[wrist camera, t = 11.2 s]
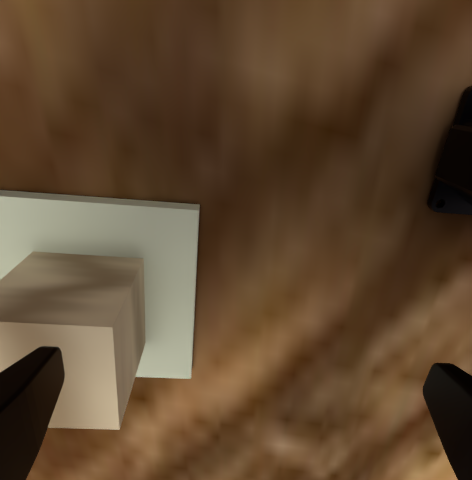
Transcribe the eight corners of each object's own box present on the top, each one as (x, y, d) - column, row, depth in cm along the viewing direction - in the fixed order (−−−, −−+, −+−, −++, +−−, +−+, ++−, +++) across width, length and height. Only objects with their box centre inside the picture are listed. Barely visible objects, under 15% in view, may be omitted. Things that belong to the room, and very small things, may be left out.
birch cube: (143, 258, 19) (112, 327, 14) (145, 342, 22) (119, 429, 16) (32, 251, 19) (-45, 319, 13) (47, 338, 21) (-14, 425, 16)
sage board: (199, 204, 19) (198, 210, 18) (192, 367, 24) (190, 378, 23) (-27, 187, 18) (-39, 193, 17) (13, 360, 23) (5, 371, 22)
